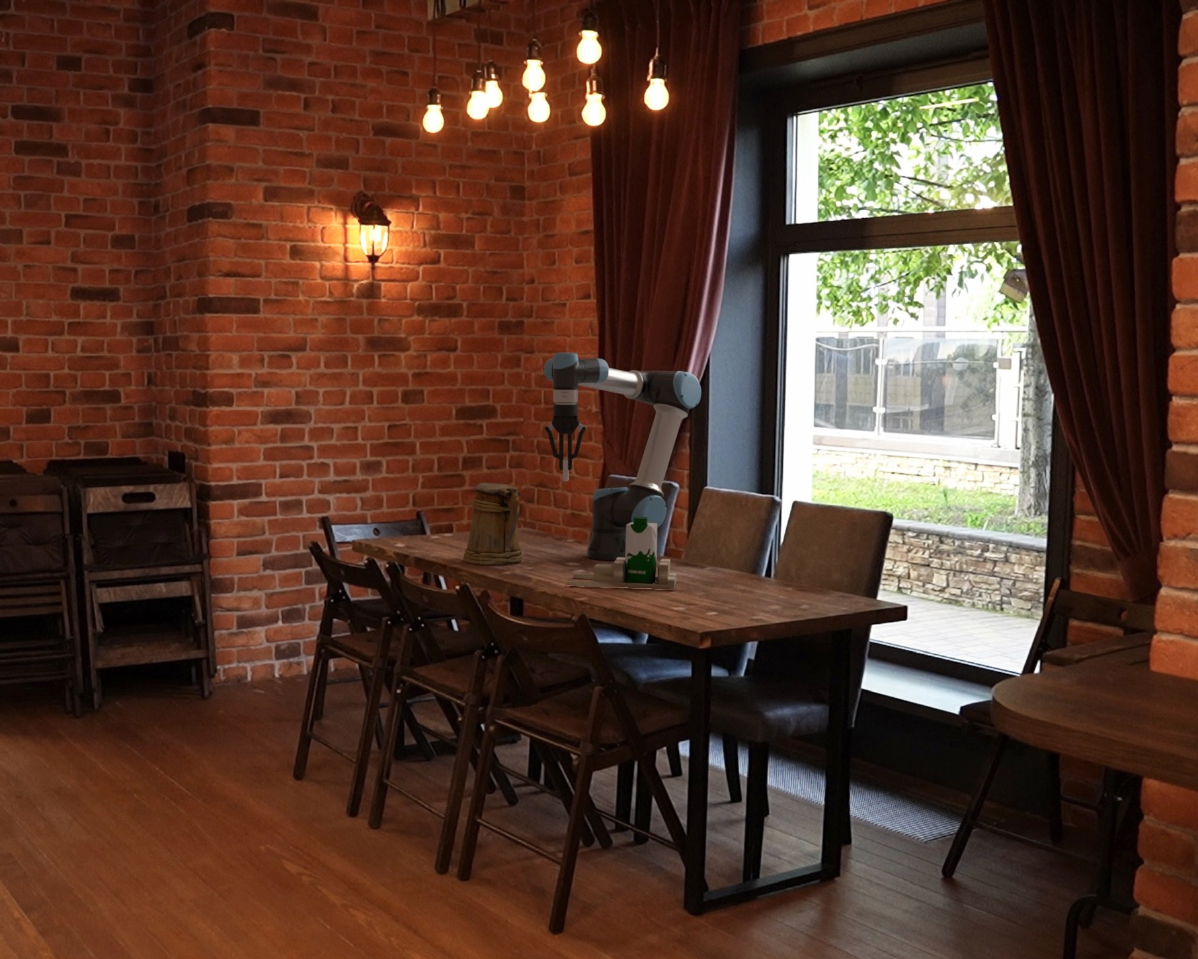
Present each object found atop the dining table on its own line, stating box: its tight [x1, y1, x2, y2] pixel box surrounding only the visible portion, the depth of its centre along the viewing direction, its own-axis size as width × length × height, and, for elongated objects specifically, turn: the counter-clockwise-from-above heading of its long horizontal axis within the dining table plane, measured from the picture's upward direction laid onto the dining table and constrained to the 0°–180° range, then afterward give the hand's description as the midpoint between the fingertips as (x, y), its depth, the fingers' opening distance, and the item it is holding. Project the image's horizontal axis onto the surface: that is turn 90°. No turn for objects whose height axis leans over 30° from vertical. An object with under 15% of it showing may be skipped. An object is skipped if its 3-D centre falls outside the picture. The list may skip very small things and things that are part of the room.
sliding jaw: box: [593, 557, 626, 583], centre depth 400 cm, size 12×9×7 cm
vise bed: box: [566, 558, 678, 590], centre depth 399 cm, size 16×31×7 cm, turn 84°
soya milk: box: [625, 517, 658, 584], centre depth 398 cm, size 9×9×20 cm
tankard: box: [462, 482, 523, 566], centre depth 434 cm, size 18×24×25 cm
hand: (565, 480), depth 418 cm, fingers closed
